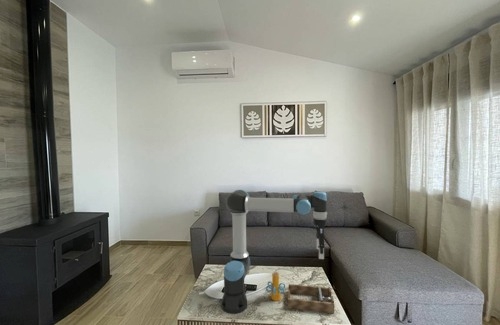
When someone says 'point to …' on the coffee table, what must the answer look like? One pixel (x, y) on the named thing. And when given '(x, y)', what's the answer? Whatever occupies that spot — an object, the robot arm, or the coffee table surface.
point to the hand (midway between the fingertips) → (320, 253)
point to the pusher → (321, 296)
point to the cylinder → (275, 287)
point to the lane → (307, 303)
